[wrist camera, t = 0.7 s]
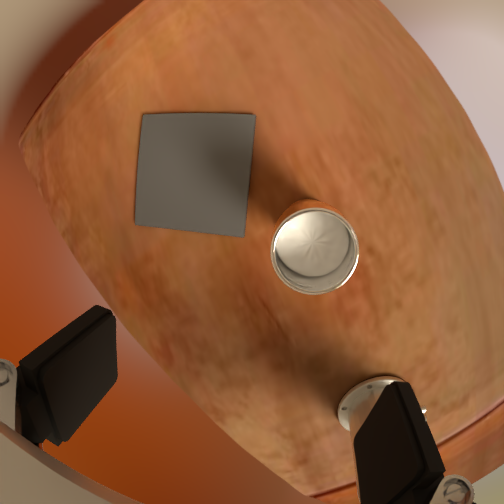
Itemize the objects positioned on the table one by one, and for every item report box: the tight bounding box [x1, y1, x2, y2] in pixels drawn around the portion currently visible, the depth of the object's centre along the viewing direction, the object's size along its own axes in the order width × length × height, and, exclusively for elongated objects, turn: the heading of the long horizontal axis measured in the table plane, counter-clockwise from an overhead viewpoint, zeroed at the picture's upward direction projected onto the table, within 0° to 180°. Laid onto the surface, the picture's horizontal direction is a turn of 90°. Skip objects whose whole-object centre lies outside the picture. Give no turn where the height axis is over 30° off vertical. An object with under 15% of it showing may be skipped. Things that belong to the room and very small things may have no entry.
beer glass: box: [270, 199, 359, 295], centre depth 28 cm, size 7×7×15 cm
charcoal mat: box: [135, 113, 256, 237], centre depth 36 cm, size 15×15×1 cm
